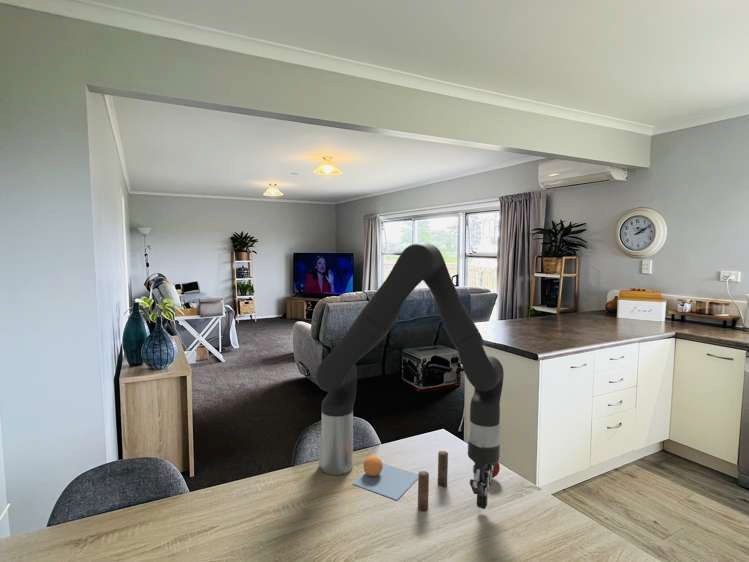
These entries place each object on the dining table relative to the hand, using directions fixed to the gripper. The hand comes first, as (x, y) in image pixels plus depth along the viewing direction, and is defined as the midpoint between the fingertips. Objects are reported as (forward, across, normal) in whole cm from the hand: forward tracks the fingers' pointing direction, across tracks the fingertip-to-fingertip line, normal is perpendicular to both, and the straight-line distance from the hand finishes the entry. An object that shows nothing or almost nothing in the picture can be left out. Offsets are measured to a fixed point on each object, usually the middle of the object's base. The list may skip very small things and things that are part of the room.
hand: (481, 506), depth 104 cm
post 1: (+2, +6, -13) cm, 15 cm away
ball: (-1, 0, -32) cm, 32 cm away
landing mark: (+2, 0, -27) cm, 27 cm away
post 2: (+2, -6, -13) cm, 15 cm away
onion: (+2, -16, -3) cm, 16 cm away
